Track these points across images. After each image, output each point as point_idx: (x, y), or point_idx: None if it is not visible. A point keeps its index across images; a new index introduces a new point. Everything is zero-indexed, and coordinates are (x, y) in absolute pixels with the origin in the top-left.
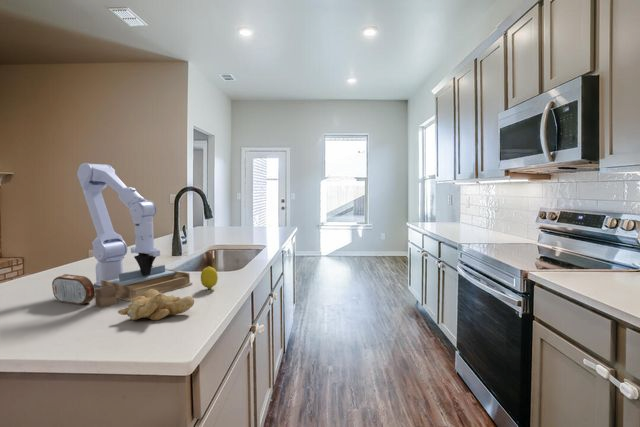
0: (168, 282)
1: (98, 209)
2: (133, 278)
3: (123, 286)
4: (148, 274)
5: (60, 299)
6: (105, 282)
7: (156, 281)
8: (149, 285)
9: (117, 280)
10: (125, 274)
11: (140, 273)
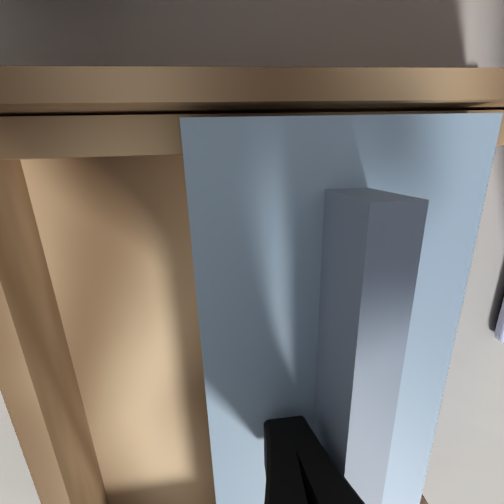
0: (40, 476)
1: None
2: (318, 327)
3: (30, 69)
4: (264, 461)
5: None
6: (489, 73)
7: None
8: (17, 336)
9: (408, 187)
10: (355, 270)
11: (328, 424)
